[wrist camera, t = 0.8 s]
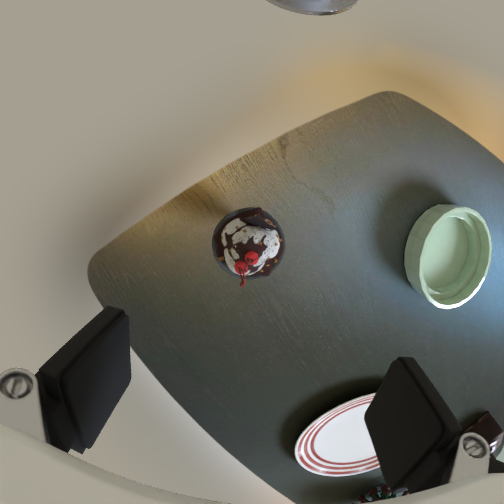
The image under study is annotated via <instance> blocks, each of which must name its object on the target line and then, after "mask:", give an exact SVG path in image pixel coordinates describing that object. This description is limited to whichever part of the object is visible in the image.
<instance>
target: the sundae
mask: <svg viewBox="0 0 504 504" xmlns="http://www.w3.org/2000/svg"><path fill="white" fill-rule="evenodd" d="M212 248H213V253H214V256H215V259H216V261H217V262H218V264H219V265H220V267H221V268H222V269H223V270H225V271H226V272H227V273H229V274H230V275H232V276H235V277H238V278H241V279H242V282H241V283H240V286H241V287H244V285H245V283H246V280H252V279H259V278H262V277H264V276H269V275H270V273H271V272H272V271H273V270H274V269H275V268H276V267H277V266H278V265H279V264H280V262H281V260H282V258H283V255H284V252H285V238H284V234H283V231H282V229H281V227H280V226H279V224H278V222H277V221H276V220H275V219H274V218H273V217H272V216H271V215H270V214H268V213H267V212H265V211H263V210H262V209H261V208H259V207H258V208H243V209H239V210H236V211H234V212H231V213H230V214H228V215H226V216H225V217H224V218H223V219H222V220H221V221H220V222H219V223H218V225H217V226H216V228H215V230H214V234H213V238H212ZM245 279H246V280H245Z"/></svg>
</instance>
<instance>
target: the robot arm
mask: <svg viewBox="0 0 504 504" xmlns="http://www.w3.org/2000/svg"><path fill="white" fill-rule="evenodd" d="M130 381H131V363H130V339H129V317H128V315H125V312H124V310H122V309H119V308H115V307H112V306H107V307H106V308H105V309H103V310H102V311H101V312H100V313H99V314H98V315H97V316H96V317H95V318H93V319H92V320H91V321H90V322H89V323H88V324H87V325H85V326H84V327H83V328H82V329H81V330H80V331H79V332H78V333H77V334H76V335H74V336H73V337H72V338H71V339H70V340H69V341H68V342H67V343H66V344H65V345H64V346H63V347H62V348H60V349H59V351H57V352H56V353H55V354H54V355H53V356H52V357H51V358H50V359H49V360H48V361H47V362H46V363H45V364H44V365H43V366H42V367H41V368H40V369H39V371H38V372H37V373H36V374H35V375H34V374H33V373H31V372H30V371H28V370H26V369H23V368H11V369H8V370H5V371H3V372H2V373H1V374H0V504H230V503H223V502H217V501H211V500H205V499H200V498H195V497H190V496H185V495H181V494H177V493H172V492H169V491H165V490H162V489H158V488H155V487H151V486H148V485H145V484H142V483H138V482H136V481H133V480H130V479H127V478H125V477H122V476H119V475H116V474H114V473H111V472H108V471H106V470H103V469H101V468H99V467H96V466H94V465H91V464H89V463H87V462H85V461H83V460H81V459H78V458H76V457H74V456H72V455H70V454H68V452H69V450H70V448H71V449H73V450H75V451H77V452H79V453H81V454H83V452H84V451H85V449H86V448H88V449H90V448H91V447H92V445H93V444H94V442H95V441H96V438H97V437H98V435H99V434H100V432H101V430H102V429H103V427H104V425H105V423H106V422H107V420H108V418H109V417H110V415H111V413H112V412H113V410H114V408H115V406H116V405H117V403H118V402H119V400H120V398H121V396H122V395H123V393H124V392H125V390H126V388H127V387H128V385H129V383H130ZM364 421H365V424H366V427H367V429H368V432H369V435H370V438H371V441H372V444H373V447H374V450H375V453H376V456H377V459H378V462H379V465H380V468H381V471H382V474H383V477H384V480H385V483H386V486H387V487H390V490H391V493H392V494H395V493H399V492H404V491H405V490H406V489H408V492H409V493H408V495H405V496H400V497H396V498H391V499H386V500H380V501H374V502H368V503H361V504H504V463H503V462H500V461H498V460H496V459H493V458H491V457H490V448H489V445H488V443H487V442H486V440H485V439H484V438H483V437H482V436H480V435H478V434H476V433H465V434H463V435H462V436H461V437H460V438H458V436H457V435H458V434H459V433H460V431H461V430H462V427H461V425H460V424H459V422H458V421H457V419H456V418H455V416H454V415H453V413H452V412H451V410H450V409H449V407H448V406H447V404H446V403H445V401H444V400H443V398H442V397H441V396H440V394H439V393H438V391H437V390H436V388H435V387H434V385H433V384H432V383H431V381H430V380H429V378H428V377H427V376H426V374H425V373H424V371H423V370H422V369H421V367H420V366H419V365H418V363H417V362H416V360H415V359H414V358H412V357H398V358H397V359H396V360H395V361H393V362H392V363H391V365H390V367H389V369H388V371H387V373H386V375H385V377H384V379H383V381H382V383H381V385H380V387H379V389H378V390H377V392H376V394H375V396H374V398H373V400H372V401H371V403H370V405H369V406H368V408H367V410H366V412H365V415H364Z"/></svg>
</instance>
